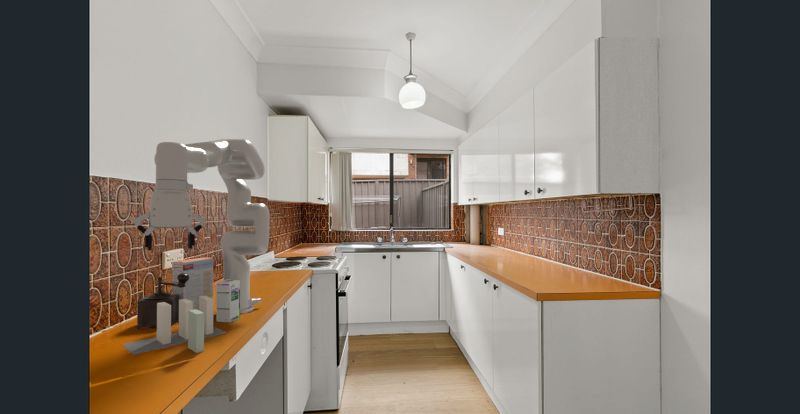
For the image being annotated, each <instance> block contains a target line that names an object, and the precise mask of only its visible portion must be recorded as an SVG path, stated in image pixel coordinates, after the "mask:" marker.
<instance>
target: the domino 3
mask: <svg viewBox="0 0 800 414" xmlns="http://www.w3.org/2000/svg"><path fill="white" fill-rule="evenodd" d="M187 348H188V349H189V350H192V351H193V352H194V353H196V354H198V353H202V352H204V351H205V338H204V313H203V312H201V311H199V310H197V309H194V310H188V342H187Z"/></svg>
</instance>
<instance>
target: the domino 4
mask: <svg viewBox="0 0 800 414" xmlns="http://www.w3.org/2000/svg"><path fill="white" fill-rule="evenodd" d="M199 311H201V312H203V313H204V334H206V335H208V334H212V333H213V327H214V297H213V298H211V297H208V296H200V297H199Z"/></svg>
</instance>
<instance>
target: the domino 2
mask: <svg viewBox="0 0 800 414" xmlns="http://www.w3.org/2000/svg"><path fill="white" fill-rule="evenodd" d="M188 310H193V301H190V300H188V299H181V300H179V320H178V332H179V336H181V337H183V338H184V339H188Z"/></svg>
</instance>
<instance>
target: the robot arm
mask: <svg viewBox="0 0 800 414" xmlns="http://www.w3.org/2000/svg"><path fill="white" fill-rule="evenodd" d="M155 151H156V152H155V155H154V163H155V191H152V192H151V194H150V195H151V196H150V201H149V209H148V210H149V211H148V212H147V213H144V214H142V215H139V216H138V217H135V218H133V219H132V221H133V224H134V225H135V227H136V228H137V230H138V231H140V232H141V233H142V234H143V235H144V237H145V238H144V248H147V251H149V252H150V251H152V248H153V244H152V243H153V235H152V234H151V233H153V231H154V230H156V229H186V231H187V232H188V234H187V249H190V250H192V249H193V246H195V245H196V244H195V243H196V242H195V241H196V235H197V233H199V231H200V230H202V228H203V226H204V225H205V223H206V221H207V220H206V218H205V217H203V216H200V215H198V214H195V213H193V209H192V198H191V194H190V192H188V191H189V190H193V189H194V185H193V184H191V183H189V182H188V174H189V173H190V174H194V173H195V174H196V173H203V172H204V171H206V170H207V169H208V168H214V167H217V171H218V174H219V176H220V177H221V179H222V180H223V183H224V185H225V187H226V189H227V206H226V207H227V209H226V221H227V224H228V225H229V226H231V227H233V228H234V227H235V228H254V230H247V229H246V230H241V229H240V230H238V229H237V230H236V229H235V230H228V231H226V232H224V234H222V236H221V238H220V246H221V247H220V249H221V253H222V261H223V262H222V263H223V276H222V277H223V279H222V281H224V280H226V279H237V280H240V315H241V314H245V313H247V314H248V313H251V312H253V311H254V310H255V307H254V305H255V304H261V303H262V298H260V297H258V298H252V297H250V294H251V293H250V284H251V283H250V282H251V281H250V279H251V278H250V277H251V276H250V275H251V270H250V269H251V268H250V267H251V266H250V263H249V261H248V259H247V258H246V257H245V256H246V255H247V256H248V255H249V256H261V255H264V254H266V253H267V252H268V248H269V244H270V243H269V242H270V241H269V240H270V218H271V217H270V216H271V215H270V210H269V208H268V206H267V205H266V204H264V203H261V202H259V203H257V202H256V203H255V202H252V190H251V188H250V187H249V185H248V184H247V182H245V180H249V181H250V180H252V181H254V180H260V179H261V178H263V177H264V174H265V165H264V161H263V160H262V157H261V156H260V154H259V152H258V150H257V149H256V147H255V146H254V144H253V143H252V142H251V141H249V140H247V139H244V138H242V139H241V138H238V139H237V138H236V139H234V138H229V139H228V138H226V139H225V138H222V139H215V140H208V141H202V142H200V141H199V142H193V143H185V144H183V143H181V142H176V141H175V142H173V141H162V142H159V143H157V145H156V150H155ZM193 219H194V220H196V221H198V222H197V225H196V226H195V227H192V225H193ZM144 220H148V225H149V226H148V228H146V227H144V226H143V225H142V222H143V221H144Z"/></svg>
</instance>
